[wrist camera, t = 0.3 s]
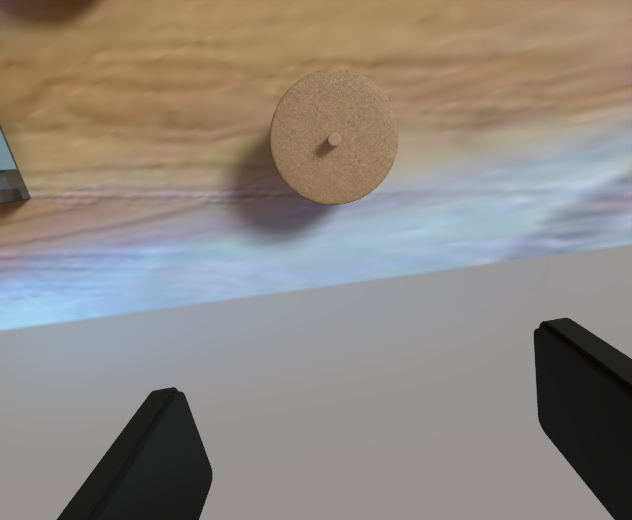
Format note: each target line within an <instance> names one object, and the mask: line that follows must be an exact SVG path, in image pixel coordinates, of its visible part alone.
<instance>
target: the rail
mask: <svg viewBox="0 0 632 520" xmlns="http://www.w3.org/2000/svg"><path fill="white" fill-rule="evenodd" d="M0 130H1V132H2V135H3V137H4V140H5V142H6V144H7V147H8V149H9V152H10V154H11V156H12V159H13V161H14V164H15V166H16V168H17V169H15V170H10V171H0V205H1V204H6V203H10V202H15V201H20V200H24V199H29V198H30V196H29V193H28V191H27V188H26V186H25V184H24V181H23V179H22V176H21V174H20V172H19V169H18V167H17V164H16V162H15V160H14V157H13V155H12V152H11V150H10V148H9V145H8V143H7V140H6V138H5V136H4V133H3V131H2V128H1V126H0Z"/></svg>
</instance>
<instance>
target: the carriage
mask: <svg viewBox="0 0 632 520" xmlns="http://www.w3.org/2000/svg"><path fill="white" fill-rule="evenodd" d="M15 169H17V168H16V166H15V164H14V161H13V159H12V156H11V154H10V152H9V149H8V147H7V144H6V142H5V140H4V137H3V135H2V132H1V130H0V171H10V170H15Z"/></svg>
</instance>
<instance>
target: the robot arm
mask: <svg viewBox="0 0 632 520" xmlns="http://www.w3.org/2000/svg"><path fill="white" fill-rule="evenodd" d="M534 349H535V367H536V384H537V385H536V386H537V403H538V418H539V422H540V425H541V427H542V429H543V431H544V432H545V434H546V435H547V436H548V437H549V439H550V440H551V441H552V442H553V444H554V445H555V446H556V447H557V448H558V450H559V451H560V452H561V453H562V455H563V456H564V457H565V458H566V460H567V461H568V462H569V463H570V465H571V466H572V467H573V468H574V470H575V471H576V472H577V473H578V475H579V476H580V477H581V478H582V479H583V481H584V482H585V483H586V484H587V486H588V487H589V488H590V489H591V491H592V492H593V493H594V495H595V496H596V497H597V498H598V499H599V501H600V502H601V503H602V505H603V506H604V507H605V508H606V509H607V511H608V512H609V513H610V514H611V516H612V517H613V518H614V519H615V520H632V359H631V358H629V357H628V356H626V355H625V354H623V353H622V352H620V351H619V350H617V349H615V348H614V347H612V346H611V345H609V344H608V343H606V342H605V341H603V340H602V339H600V338H599V337H597V336H596V335H594V334H593V333H591V332H589V331H588V330H586V329H585V328H583V327H582V326H580V325H579V324H577V323H576V322H574V321H572V320H571V319H569V318H561V319H555V320H549V321H544V322H542V323H541V324H540V326H539V328H538V329H535V331H534ZM211 483H212V469H211V465H210V463H209V460H208V457H207V455H206V451H205V449H204V446H203V443H202V441H201V438H200V435H199V432H198V430H197V427H196V424H195V422H194V419H193V416H192V413H191V410H190V408H189V405H188V402H187V400H186V397H185V395H184V393H183V392H179V391H178V390H177V389H176V388H174V387H172V388H166V389H161V390H155V391H152V392H151V393H150V394H149V396H148V397H147V398H146V400H145V401H144V402H143V404H142V405H141V406H140V408H139V409H138V410H137V412H136V413H135V415H134V416H133V417H132V419H131V420H130V421H129V423H128V424H127V425H126V427H125V428H124V429H123V431H122V432H121V433H120V435H119V436H118V437H117V439H116V440H115V442H114V443H113V444H112V446H111V447H110V448H109V450H108V451H107V452H106V454H105V455H104V456H103V458H102V459H101V461H100V462H99V463H98V465H97V466H96V467H95V469H94V470H93V471H92V473H91V474H90V476H89V477H88V478H87V480H86V481H85V482H84V483H83V485H82V486H81V487H80V489H79V490H78V492H77V493H76V494H75V496H74V497H73V498H72V500H71V501H70V502H69V504H68V505H67V507H66V508H65V509H64V510H63V512H62V513H61V515H60V516H59V517H58V519H57V520H199V518H200V515H201V512H202V509H203V506H204V504H205V500H206V498H207V495H208V492H209V489H210V486H211Z"/></svg>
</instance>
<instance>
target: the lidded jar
mask: <svg viewBox="0 0 632 520" xmlns="http://www.w3.org/2000/svg"><path fill="white" fill-rule="evenodd" d="M397 147H398V124H397V119H396V116H395V112H394V110H393V108H392V106H391V103H390V101H389V100H388V98H387V97H386V95H385V94H384V93H383V91H382V90H381V89H380V88H379V87H378V86H377V85H376V84H374V83H373V82H372V81H371V80H369V79H368V78H366V77H364V76H362V75H360V74H358V73H355V72H352V71H349V70H341V69H327V70H323V71H318V72H315V73H313V74H310V75H308V76H306V77H304V78H303V79H301V80H299V81H298V82H297V83H295V84H294V85H293V86H292V87H291V88H290V89H289V90H288V91H287V92H286V94H285V95H284V96H283V97H282V99H281V101H280V102H279V104H278V106H277V108H276V110H275V113H274V115H273V119H272V123H271V128H270V148H271V153H272V157H273V160H274V163H275V166H276V168H277V170H278V172H279V173H280V175H281V177H282V178H283V179H284V181H285V182H286V183H287V184H288V185H289V186H290V187H291V188H292V189H293V190H294V191H295V192H297V193H298V194H300V195H301V196H302V197H304V198H307V199H309V200H311V201H314V202H317V203H321V204H328V205H339V204H345V203H350V202H353V201H355V200H358V199H360V198H362V197H364V196H366V195H367V194H369V193H370V192H371V191H373V190H374V189H375V188H376V187H377V186H378V185H379V184H380V183H381V182H382V181H383V180H384V178H385V177H386V175H387V174H388V172H389V170H390V169H391V167H392V165H393V162H394V159H395V156H396V153H397Z"/></svg>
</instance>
